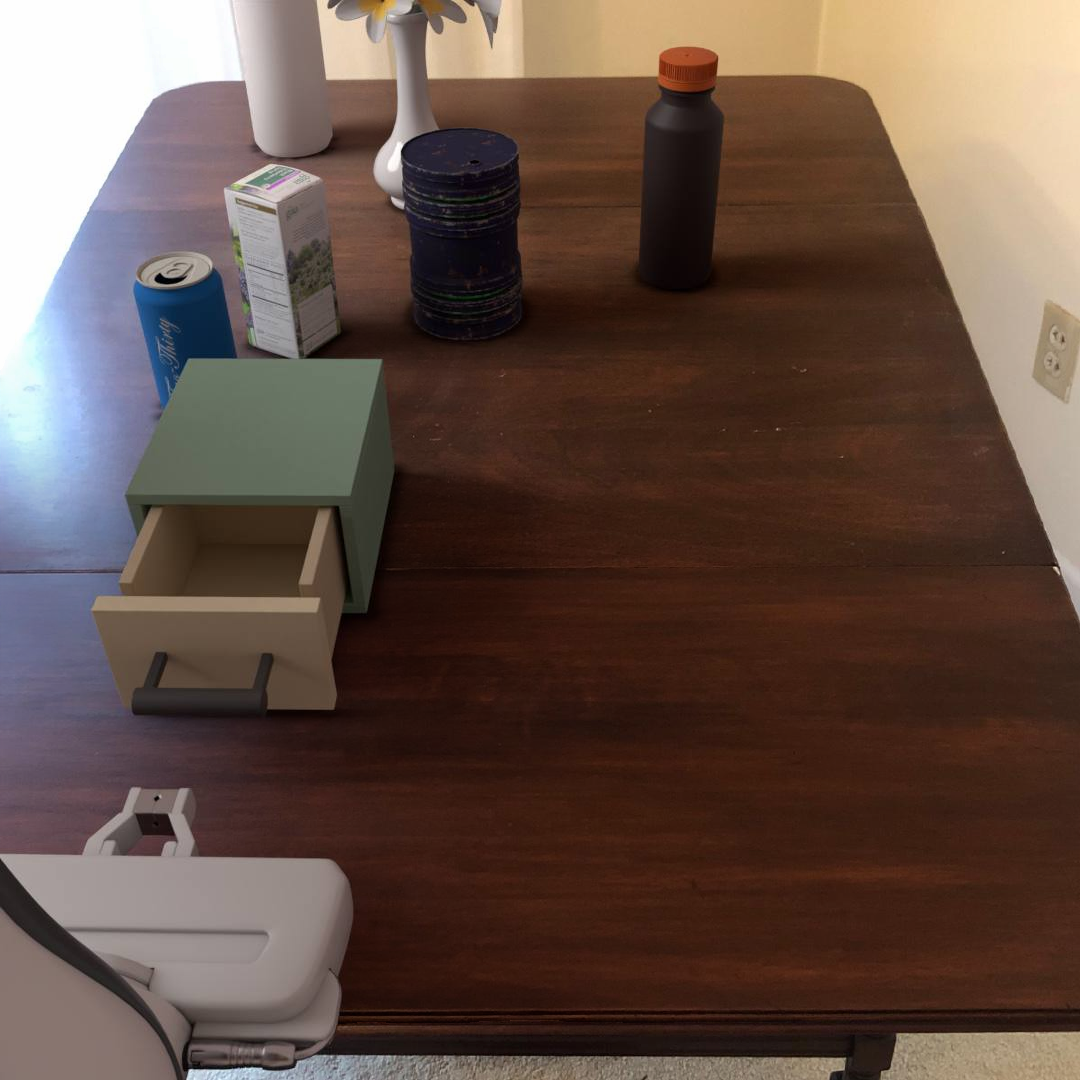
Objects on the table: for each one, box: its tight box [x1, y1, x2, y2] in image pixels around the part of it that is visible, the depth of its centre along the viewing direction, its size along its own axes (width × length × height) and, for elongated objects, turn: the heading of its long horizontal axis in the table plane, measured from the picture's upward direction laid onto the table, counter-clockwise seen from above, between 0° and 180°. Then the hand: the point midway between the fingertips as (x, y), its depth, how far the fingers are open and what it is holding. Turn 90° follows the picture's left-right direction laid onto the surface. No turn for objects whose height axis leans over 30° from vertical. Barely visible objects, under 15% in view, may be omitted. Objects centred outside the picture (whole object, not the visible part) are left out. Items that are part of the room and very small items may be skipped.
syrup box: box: [223, 163, 342, 359], centre depth 101 cm, size 6×6×14 cm
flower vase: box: [326, 0, 502, 211], centre depth 120 cm, size 13×18×25 cm
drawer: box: [90, 505, 349, 718], centre depth 73 cm, size 19×12×8 cm, turn 179°
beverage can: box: [132, 251, 238, 411], centre depth 94 cm, size 6×6×12 cm
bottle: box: [637, 46, 725, 291], centre depth 108 cm, size 7×7×20 cm
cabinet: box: [124, 358, 395, 614], centre depth 82 cm, size 16×14×10 cm
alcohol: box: [231, 0, 334, 158], centre depth 130 cm, size 9×9×30 cm
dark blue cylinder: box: [401, 127, 524, 341], centre depth 104 cm, size 10×10×15 cm
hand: (165, 794), depth 60 cm, fingers closed
